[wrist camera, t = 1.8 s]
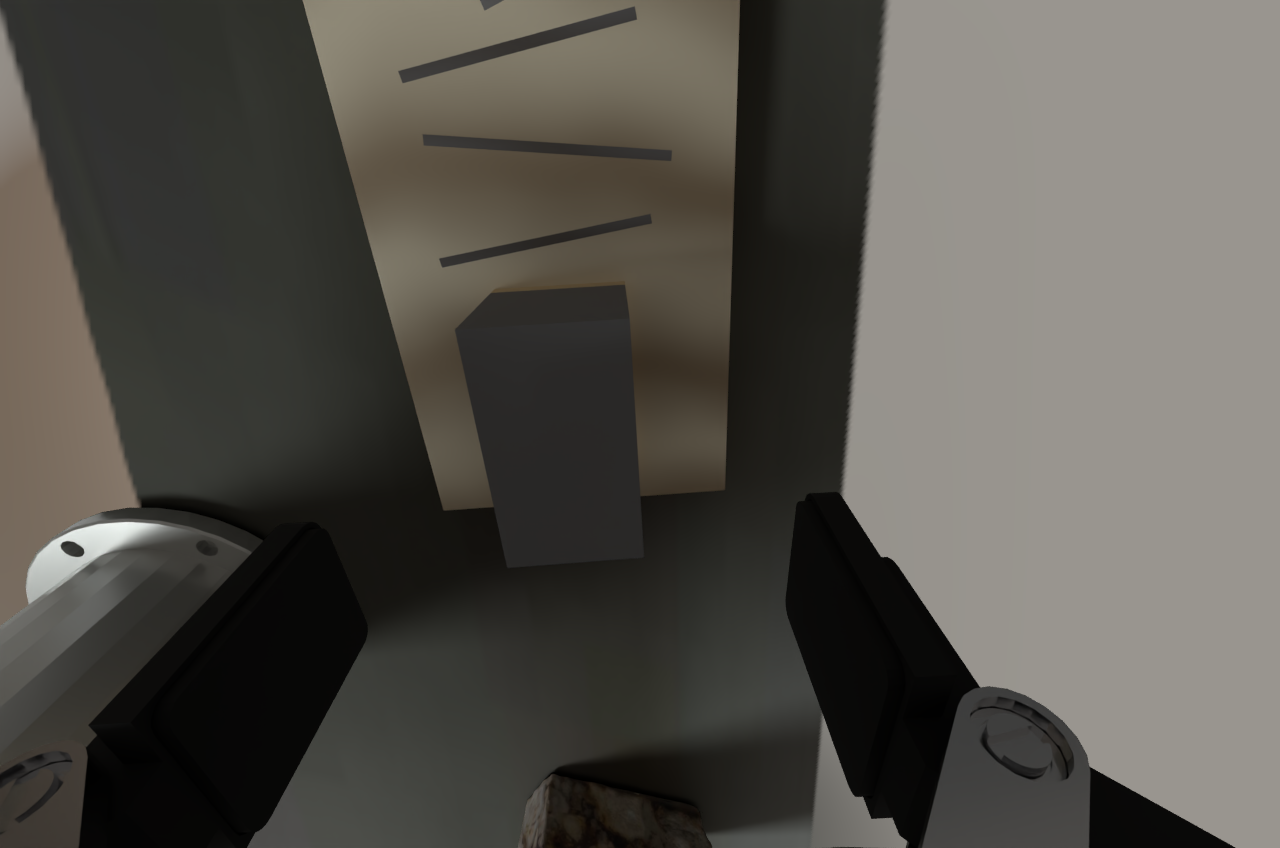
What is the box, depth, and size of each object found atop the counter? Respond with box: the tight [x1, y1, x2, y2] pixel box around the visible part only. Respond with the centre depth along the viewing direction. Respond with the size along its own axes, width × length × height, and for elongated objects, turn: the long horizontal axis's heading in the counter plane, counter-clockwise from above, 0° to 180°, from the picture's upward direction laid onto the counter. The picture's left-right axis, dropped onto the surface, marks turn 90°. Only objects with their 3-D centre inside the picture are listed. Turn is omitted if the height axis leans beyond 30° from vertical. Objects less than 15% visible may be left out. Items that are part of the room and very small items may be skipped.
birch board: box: [303, 0, 740, 511], centre depth 17 cm, size 24×12×2 cm, turn 3°
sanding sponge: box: [455, 281, 644, 568], centre depth 17 cm, size 8×4×5 cm, turn 3°
